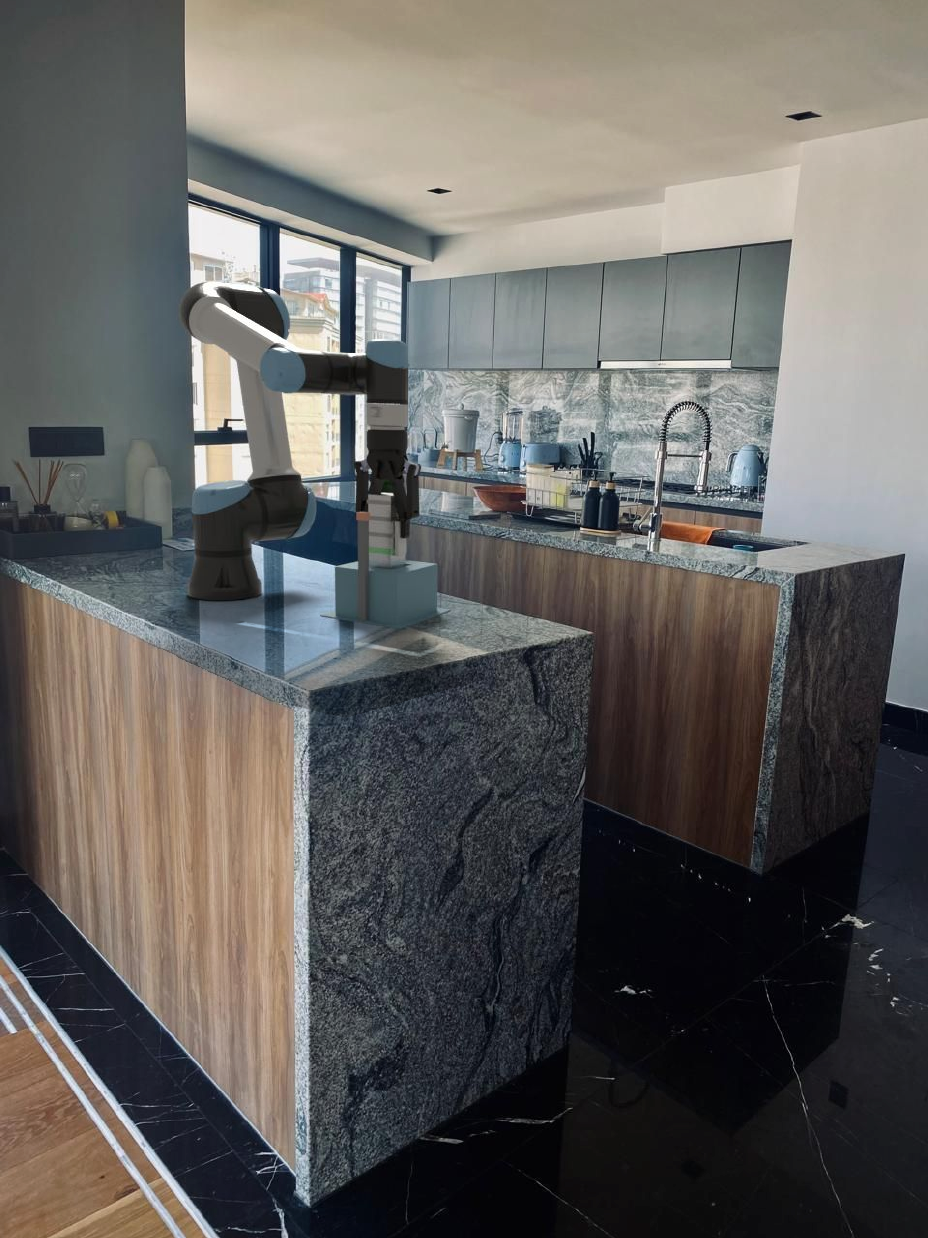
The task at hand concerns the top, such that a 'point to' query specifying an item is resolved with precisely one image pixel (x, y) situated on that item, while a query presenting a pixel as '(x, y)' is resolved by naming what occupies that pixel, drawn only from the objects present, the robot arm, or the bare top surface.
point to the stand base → (384, 589)
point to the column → (383, 532)
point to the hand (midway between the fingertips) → (387, 553)
